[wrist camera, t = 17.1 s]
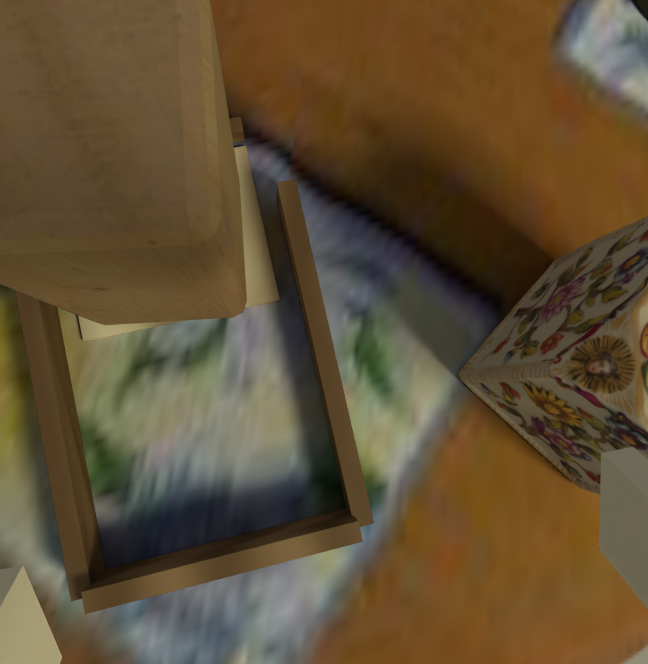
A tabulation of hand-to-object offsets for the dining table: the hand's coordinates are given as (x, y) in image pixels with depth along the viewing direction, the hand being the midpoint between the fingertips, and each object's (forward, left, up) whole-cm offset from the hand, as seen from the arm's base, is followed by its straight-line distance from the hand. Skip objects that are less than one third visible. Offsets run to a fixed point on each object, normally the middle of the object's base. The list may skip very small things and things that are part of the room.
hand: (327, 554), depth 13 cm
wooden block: (+5, -15, -25) cm, 29 cm away
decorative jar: (-20, -1, -25) cm, 32 cm away
